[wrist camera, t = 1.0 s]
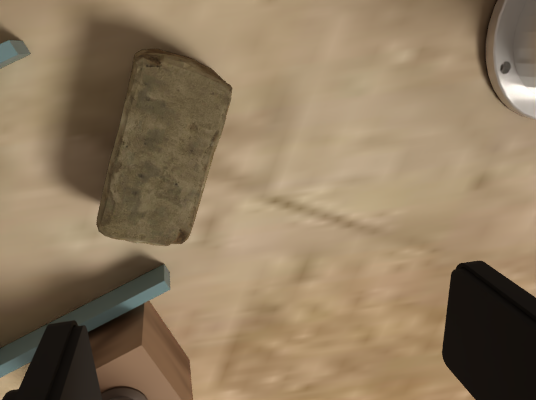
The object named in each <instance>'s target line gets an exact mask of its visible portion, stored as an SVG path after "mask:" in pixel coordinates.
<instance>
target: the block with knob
mask: <svg viewBox="0 0 536 400" xmlns="http://www.w3.org/2000/svg"><path fill="white" fill-rule="evenodd" d="M88 336H89V340H90V345H91V349H92V354H93V359H94V363H95V368H96V373H97V377H98V382H99V387H100V391H101V396H102V400H193V395H192V384H191V372H190V361H189V359H188V357H187V356H186V354H185V353H184V351H183V350H182V348H181V347H180V345H179V344H178V342H177V341H176V339H175V338H174V337H173V335H172V334H171V332H170V331H169V329H168V328H167V326H166V325H165V323H164V322H163V320H162V319H161V317H160V316H159V314H158V313H157V312H156V310H155V309H154V307H153V306H152V304H151V303H150V301H147V302H145V303H143V304H141V305H139V306H137V307H136V308H134V309H132V310H130V311H128V312H126V313H124V314H122V315H120V316H118V317H116V318H114V319H112V320H110V321H109V322H107V323H105V324H103V325H101V326H99V327H97V328H95V329H93V330H91V331H89V332H88Z"/></svg>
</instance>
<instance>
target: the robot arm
mask: <svg viewBox="0 0 536 400" xmlns="http://www.w3.org/2000/svg"><path fill="white" fill-rule="evenodd" d="M486 64H487V70H488V76H489V78H490V81H491V84H492V86H493V89H494V91H495V92H496V94H497V95H498V97H499V98H500V100H501V101H502V102H503V103H504V104H505V105H506V106H507V107H508V108H509V109H510V110H512V111H514V112H515V113H517V114H519V115H521V116H524V117H528V118H532V119H536V0H498V1H497V3H496V5H495V7H494V10H493V13H492V16H491V19H490V22H489V26H488V32H487V39H486ZM442 355H443V359H444V362H445V364H446V366H447V367H448V368H449V369H450V370H451V372H452V373H453V374H454V375H455V376H456V377H457V379H458V380H459V381H460V382H461V383H462V384H463V386H464V387H465V388H466V389H467V390H468V391H469V393H470V394H471V395H472V396H473V397H474V398H475V399H476V400H536V298H535V297H534V296H532V295H531V294H530V293H528V292H527V291H525V290H524V289H522V288H521V287H519V286H518V285H517V284H515V283H514V282H512V281H511V280H509V279H508V278H506V277H505V276H503V275H502V274H501V273H499V272H498V271H496V270H495V269H493V268H492V267H490V266H489V265H488V264H486V263H485V262H483V261H473V262H466V263H460V264H459V265H458V266H457V267H456V270H453V272H452V274H451V280H450V289H449V297H448V306H447V315H446V323H445V332H444V340H443V349H442ZM2 400H102V396H101V391H100V387H99V382H98V377H97V373H96V368H95V363H94V359H93V354H92V349H91V345H90V340H89V336H88V331H87V328H86V326H85V325H82V326H78V324H77V322H76V321H75V320H72V321H65V322H59V323H52V324H48V325H47V327H46V329H45V331H44V334H43V336H42V338H41V340H40V343H39V345H38V347H37V349H36V352H35V354H34V356H33V358H32V361H31V363H30V365H29V367H28V370H27V372H26V374H25V376H24V379H23V381H22V383H21V385H20V388H19V389H17V390H11V391H9V392H7V393H6V394H5V396H4V397H3V399H2Z"/></svg>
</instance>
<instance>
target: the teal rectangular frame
mask: <svg viewBox="0 0 536 400" xmlns="http://www.w3.org/2000/svg"><path fill="white" fill-rule="evenodd" d="M30 54H31V53H30V52H29V50H28V49H27V47H26V45H25V44H24V42H23V41H17V40H8V41H6V42H4V43H1V44H0V68H2V67H5V66H7V65H9V64H11V63H13V62H15V61H17V60H19V59H21V58H24V57H26V56H28V55H30ZM168 290H170V272H169V271H168V269H167V267H166V266H165V264H163V265H161V266H159V267H157V268H155V269H153V270H152V271H150V272H148V273H146V274H144V275H142V276H140V277H138V278H136V279H134V280H132V281H130V282H128V283H126V284H124V285H122V286H120V287H118V288H117V289H115V290H113V291H111V292H109V293H107V294H105V295H103V296H101V297H99V298H97V299H95V300H93V301H91V302H89V303H87V304H85V305H83V306H82V307H80V308H78V309H76V310H74V311H72V312H70V313H68V314H66V315H64V316H62V317H60V318H58V319H56V320H54V321H52V322H50V323H49V324H52V323H59V322H65V321H72V320H75V321H76V322H77V324H78V326H82V325H85V326H86V328H87V331H88V332H89V331H91V330H93V329H95V328H97V327H99V326H101V325H103V324H105V323H107V322H109V321H110V320H112V319H114V318H116V317H118V316H120V315H122V314H124V313H126V312H128V311H130V310H132V309H134V308H136V307H137V306H139V305H141V304H143V303H145V302H147V301H149V300H151V299H153V298H155V297H157V296H159V295H161V294H162V293H164V292H166V291H168ZM47 325H48V324H47ZM47 325H45V326H43V327H41V328H39V329H37V330H35V331H33V332H31V333H29V334H27V335H25V336H23V337H21V338H19V339H17V340H15V341H14V342H12V343H10V344H8V345H6V346H4V347H2V348H0V378H1V377H3V376H4V375H6V374H8V373H10V372H12V371H14V370H16V369H18V368H20V367H22V366H24V365H26V364H28V363H30V362H31V361H32V358H33V356H34V354H35V352H36V349H37V347H38V345H39V343H40V340H41V338H42V336H43V334H44V331H45V329H46V327H47Z"/></svg>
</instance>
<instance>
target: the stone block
mask: <svg viewBox="0 0 536 400" xmlns="http://www.w3.org/2000/svg"><path fill="white" fill-rule="evenodd" d="M231 93H232V87H231V86H230V85H229V84H227V83H226V81H224V80H223V79H222V78H221V77H220V76H219V75H218V74H217V73H216V72H214V71H213V70H212V69H211V68H209V67H206V66H204V65H202V64H200V63H198V62H197V61H195V60H194V59H191V58H188V57H185V56H181V55H177V54H173V53H170V52H165V51H162V50H159V49H148V50H141V51H139V52H137V53H136V54H135V55H134V61H133V67H132V73H131V77H130V81H129V86H128V91H127V95H126V100H125V104H124V108H123V113H122V117H121V122H120V126H119V130H118V133H117V136H116V140H115V144H114V148H113V151H112V154H111V158H110V162H109V166H108V171H107V175H106V180H105V184H104V188H103V193H102V198H101V202H100V207H99V211H98V216H97V224H96V225H97V227H98V230H99V232H101V233H102V234H103V235H104V236H107V237H110V238H113V239H118V240H126V241H129V242H133V243H146V244H151V245H159V246H168V245H170V244H182V243H183V242H185V241H186V240H187V239H188V237H189V236H190V233H191V230H192V227H193V224H194V221H195V217H196V214H197V210H198V207H199V204H200V201H201V197H202V193H203V190H204V186H205V183H206V179H207V176H208V172H209V169H210V166H211V162H212V159H213V155H214V152H215V149H216V147H217V144H218V141H219V139H220V136H221V133H222V130H223V127H224V124H225V119H226V115H227V111H228V108H229V104H230V101H231Z"/></svg>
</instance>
